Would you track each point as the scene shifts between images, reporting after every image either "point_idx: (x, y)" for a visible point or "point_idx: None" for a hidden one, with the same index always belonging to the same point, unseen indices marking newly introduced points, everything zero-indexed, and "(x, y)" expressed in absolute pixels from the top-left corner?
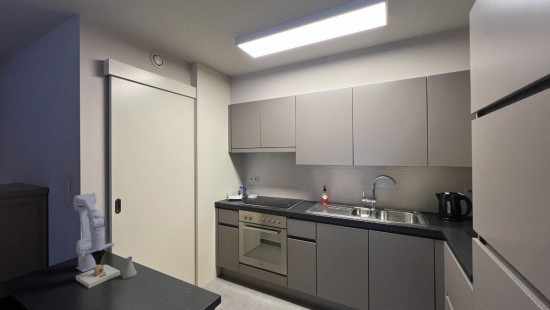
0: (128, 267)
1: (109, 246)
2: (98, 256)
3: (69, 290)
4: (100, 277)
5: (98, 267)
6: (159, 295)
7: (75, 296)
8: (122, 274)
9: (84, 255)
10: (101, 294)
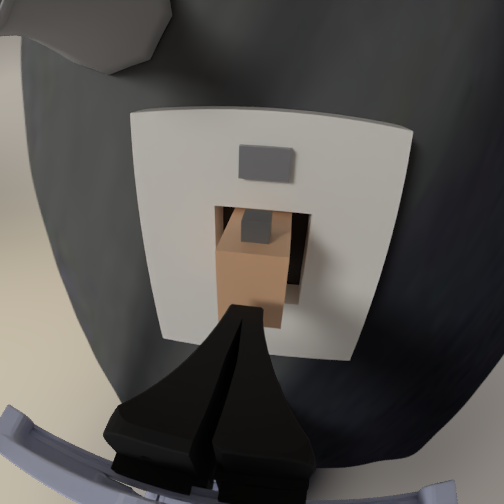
0: None
1: (46, 446)
2: (240, 398)
3: (453, 240)
4: (294, 153)
5: (264, 275)
6: None
7: (490, 111)
8: (142, 54)
9: (412, 494)
10: None
